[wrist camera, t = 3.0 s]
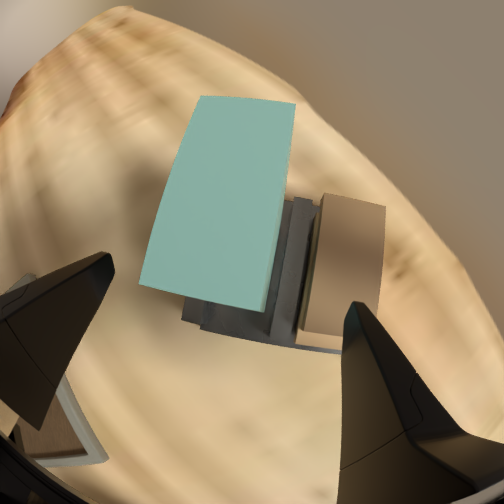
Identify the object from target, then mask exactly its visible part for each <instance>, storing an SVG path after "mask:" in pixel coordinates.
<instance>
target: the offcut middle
mask: <svg viewBox="0 0 504 504" xmlns="http://www.w3.org/2000/svg"><path fill="white" fill-rule="evenodd" d="M318 220H319V213H316V215H315V217H314V222H313V229H312V236H311V243H310V250H309V257H308V263H307V269H306V276H305V282H304V288H303V293H302V299H301V305H300V310H299V316H298V321H297V326H296V331H295V336H294V341H293V342H294V343H295V344H300V345H307V346H313V347H321V348H328V349H336V350H342V342H343V337H340V336H332V335H325V334H318V333H312V332H305V331H302V330H301V327H302V322H303V316H304V311H305V305H306V300H307V294H308V288H309V282H310V276H311V270H312V263H313V256H314V250H315V243H316V235H317V228H318Z"/></svg>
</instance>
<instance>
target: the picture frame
mask: <svg viewBox="0 0 504 504" xmlns="http://www.w3.org/2000/svg"><path fill="white" fill-rule="evenodd" d="M34 280H36V277H35V275H33V274H26V275H25V276H24V277H22V278H21V279H20V280H19V281H18V282H17V283H16V284H14V285H13V286H12V287H11V288H10V289H9V290H8V291H7V292H6V293H8V292H10V291H12V290H15V289H17V288H19V287H21V286H23V285H25V284H28V283H30V282H32V281H34ZM56 390H57V391H56V393H55V395H54V398H53V400H52V402H51V405H50V407H49V410H48V412H47V415H46V417H45V420H44V422H43V425H42V428H41V430H40V431H38V430H36V429H35V428H34V427H32V426H31V425H30V424H28V423H27V422H26V421H25V420H23V419H22V418H21V417H20V416H19V418H18V420H17V422H16V423H17V424H18V425H19V426H20V431H21V436H22V441H23V445H24V449H25V451H24V452H25V453H26V454H27V455H29V456H30V457H31V458H32V459H33V460H35V461H36V462H37V463H38V464H40V465H41V466H42V467H68V466H81V465H91V464H99V463H104V462H106V461H107V460H108V459H109V456H108V455H107V453H106V452H105V450H104V448H103V447H102V445H101V444H100V442H99V440H98V439H97V437H96V435H95V434H94V432H93V430H92V428H91V427H90V425H89V423H88V421H87V419H86V417H85V416H84V414H83V412H82V410H81V408H80V406H79V404H78V402H77V400H76V398H75V395H74V393H73V391H72V389H71V387H70V385H69V382H68V380H67V378H66V375H65V373H64V375H63V377H62V379H61V382H60V384H59V386H58V388H57V389H56Z"/></svg>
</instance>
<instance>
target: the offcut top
mask: <svg viewBox="0 0 504 504" xmlns="http://www.w3.org/2000/svg"><path fill="white" fill-rule="evenodd" d="M385 215H386V206H382V205H378V204H374V203H370V202H365V201H361V200H357V199H352V198H348V197H343V196H338V195H333V194H328V193H324V195H323V197H322V199H321V203H320V212H319V220H318V228H317V235H316V243H315V250H314V256H313V263H312V270H311V276H310V282H309V288H308V294H307V300H306V305H305V311H304V316H303V322H302V327H301V330H302V331H305V332H312V333H318V334H325V335H332V336H340V337H343V324H344V319H345V316H346V314H347V312H348V309H349V307H350V305H351V303H352V302H353V301H359V302H364V303H365V304H366V305H367V307H368V308H369V309H370V310H371V312H372V313H373V314H374V315H375V317H376V315H377V309H378V302H379V294H380V286H381V277H382V266H383V254H384V239H385Z"/></svg>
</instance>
